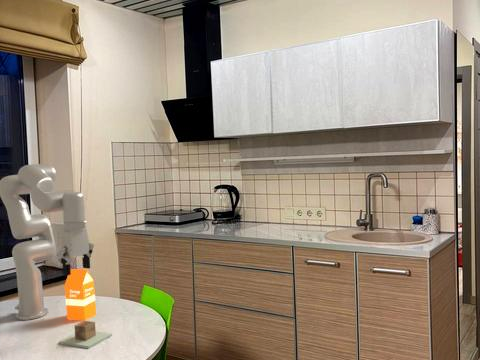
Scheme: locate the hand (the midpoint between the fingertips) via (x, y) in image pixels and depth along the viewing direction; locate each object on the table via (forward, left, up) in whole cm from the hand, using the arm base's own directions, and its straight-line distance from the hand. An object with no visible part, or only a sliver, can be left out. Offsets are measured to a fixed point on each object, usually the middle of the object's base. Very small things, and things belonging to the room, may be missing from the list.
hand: (77, 271), depth 181 cm
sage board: (+6, -4, -24) cm, 25 cm away
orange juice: (-14, +15, -24) cm, 31 cm away
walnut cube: (+6, -4, -23) cm, 24 cm away
